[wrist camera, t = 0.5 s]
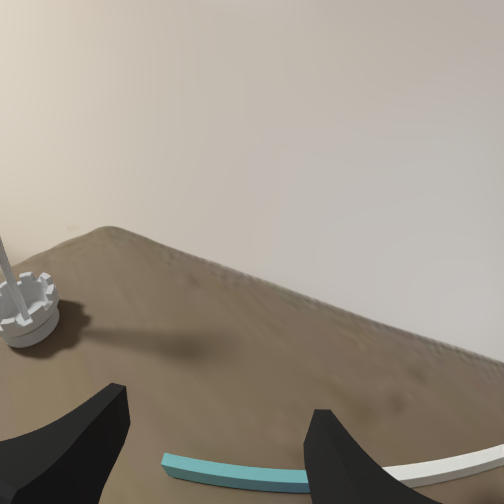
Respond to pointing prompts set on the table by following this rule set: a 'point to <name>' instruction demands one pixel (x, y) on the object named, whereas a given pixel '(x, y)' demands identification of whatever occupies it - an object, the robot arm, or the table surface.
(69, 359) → the table surface
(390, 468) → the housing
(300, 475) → the gate
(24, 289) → the flag stand
